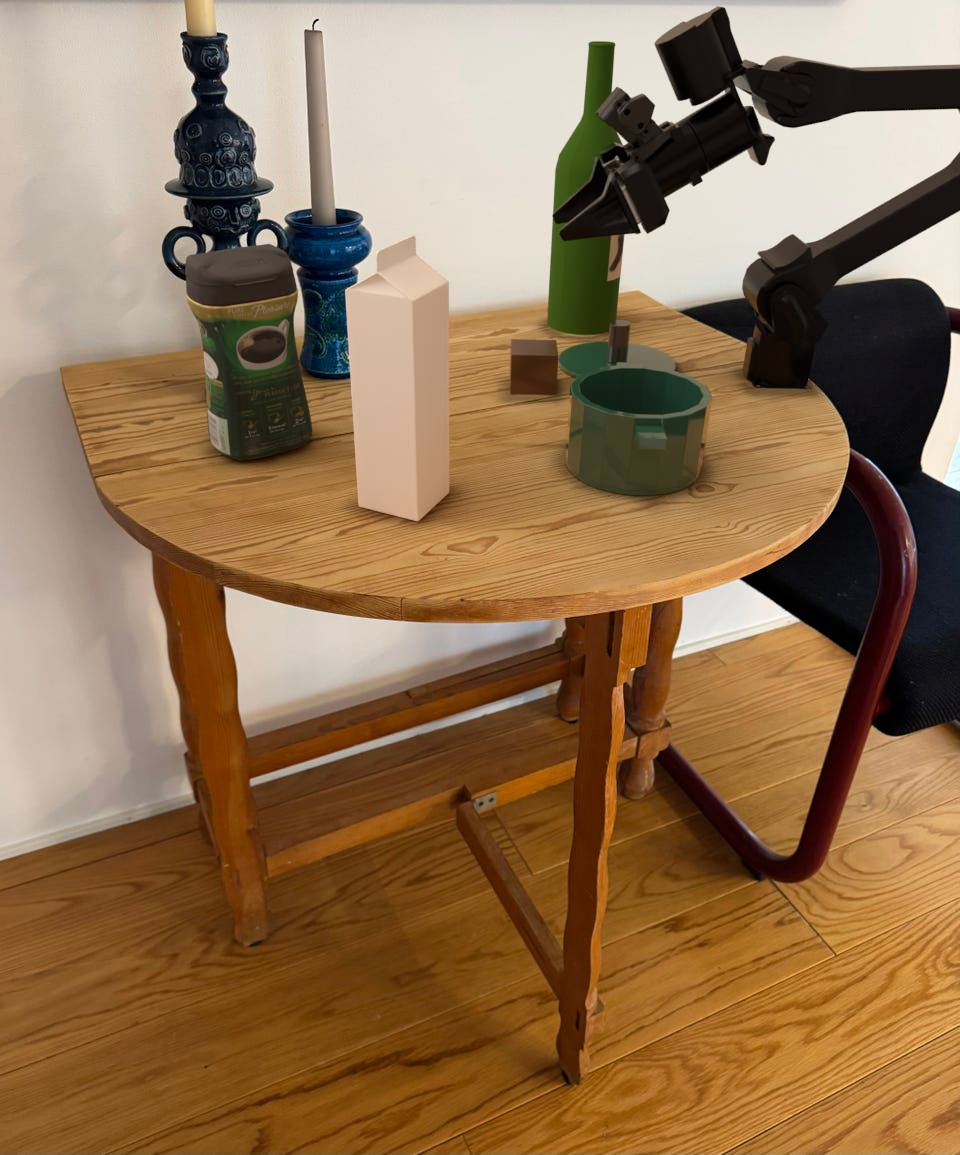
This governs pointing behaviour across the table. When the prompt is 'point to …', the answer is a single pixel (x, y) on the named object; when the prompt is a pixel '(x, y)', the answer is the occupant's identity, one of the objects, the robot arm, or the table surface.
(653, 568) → the table surface
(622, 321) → the lid
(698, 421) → the tin
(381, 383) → the milk
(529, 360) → the block
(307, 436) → the coffee jar
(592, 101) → the wine bottle
